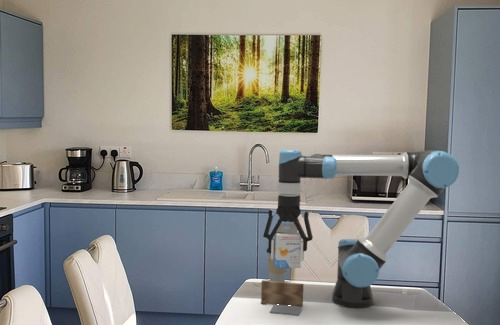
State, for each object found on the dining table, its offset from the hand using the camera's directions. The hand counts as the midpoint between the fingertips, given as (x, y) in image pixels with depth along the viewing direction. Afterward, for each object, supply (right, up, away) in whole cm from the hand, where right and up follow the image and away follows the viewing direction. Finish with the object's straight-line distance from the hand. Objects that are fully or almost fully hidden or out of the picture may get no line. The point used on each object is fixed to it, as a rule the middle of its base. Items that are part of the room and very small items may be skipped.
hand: (287, 259), depth 187 cm
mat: (0, -18, +1) cm, 18 cm away
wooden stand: (-1, -18, +8) cm, 19 cm away
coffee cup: (-2, -16, +34) cm, 38 cm away
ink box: (0, -3, 0) cm, 3 cm away
